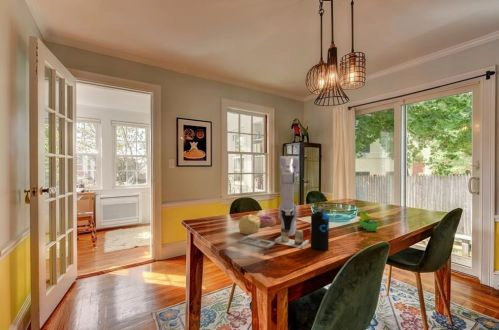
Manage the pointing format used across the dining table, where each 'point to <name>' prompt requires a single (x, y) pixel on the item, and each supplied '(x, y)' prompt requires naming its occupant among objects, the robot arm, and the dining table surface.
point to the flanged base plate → (291, 242)
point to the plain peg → (285, 235)
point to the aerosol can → (319, 231)
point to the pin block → (257, 242)
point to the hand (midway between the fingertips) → (287, 227)
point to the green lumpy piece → (367, 222)
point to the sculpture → (249, 224)
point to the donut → (267, 221)
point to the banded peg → (298, 237)
